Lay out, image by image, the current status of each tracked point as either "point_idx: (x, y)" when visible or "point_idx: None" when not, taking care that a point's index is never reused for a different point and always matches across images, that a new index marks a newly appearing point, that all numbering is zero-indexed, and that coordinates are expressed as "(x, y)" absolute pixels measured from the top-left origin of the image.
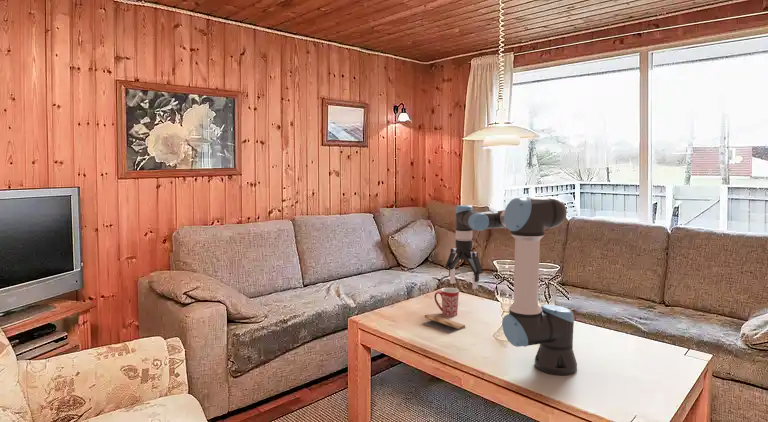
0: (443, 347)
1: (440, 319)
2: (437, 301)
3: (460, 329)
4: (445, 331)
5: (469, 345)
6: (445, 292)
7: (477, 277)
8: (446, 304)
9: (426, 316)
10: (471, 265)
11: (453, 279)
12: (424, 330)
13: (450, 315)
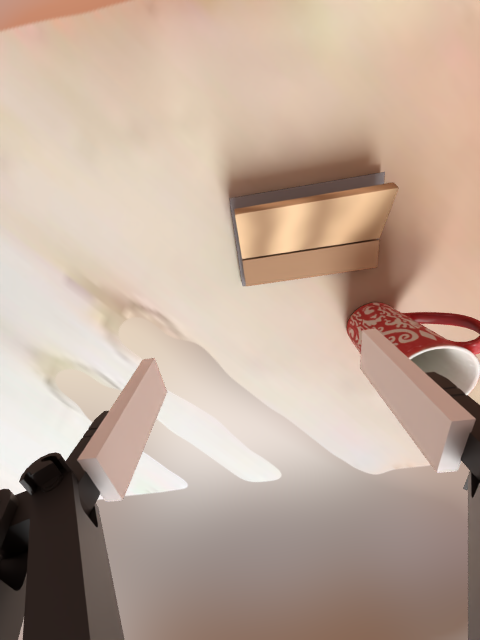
0: (136, 76)
1: (346, 251)
2: (450, 324)
3: (240, 258)
4: (254, 195)
5: (118, 191)
6: (430, 345)
7: (78, 452)
8: (391, 323)
9: (384, 187)
10: (35, 629)
11: (375, 370)
12: (330, 142)
13: (357, 316)
